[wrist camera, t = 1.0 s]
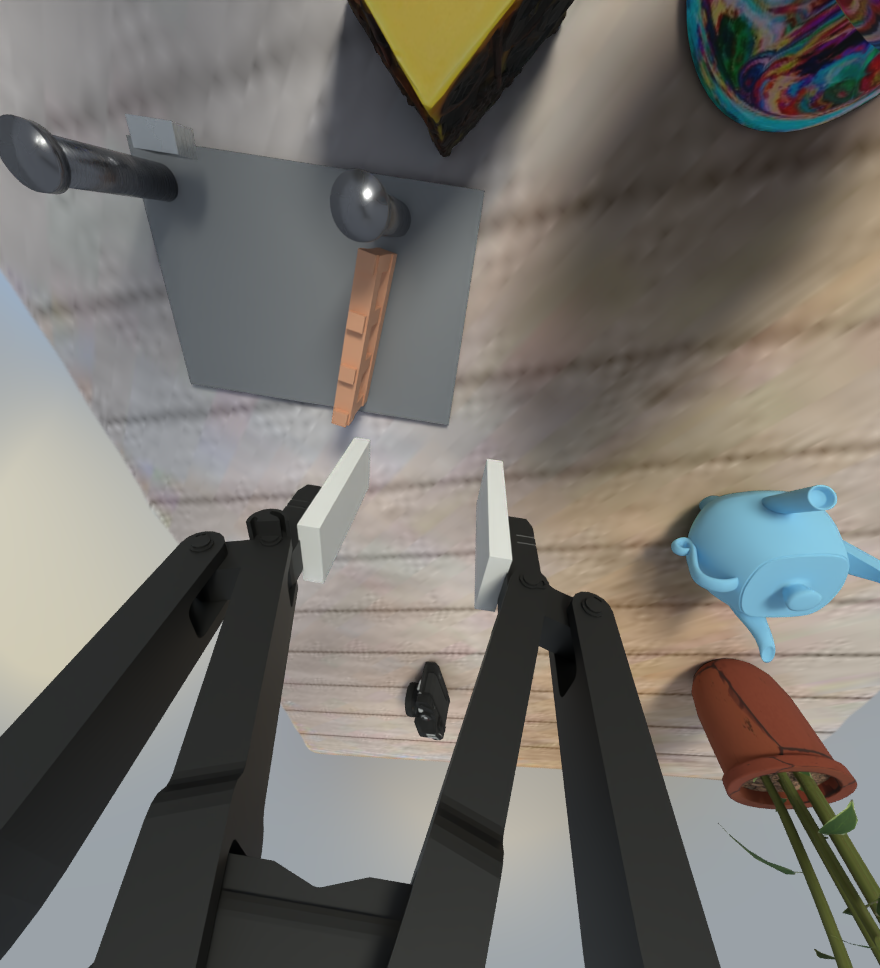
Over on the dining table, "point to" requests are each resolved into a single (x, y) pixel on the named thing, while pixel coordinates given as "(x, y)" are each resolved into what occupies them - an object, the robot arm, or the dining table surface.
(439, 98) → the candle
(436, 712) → the film camera
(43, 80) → the dining table surface
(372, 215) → the glossy grey waisted cylinder
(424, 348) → the mat
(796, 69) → the vase
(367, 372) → the gate
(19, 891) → the robot arm
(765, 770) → the potted plant
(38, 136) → the latch post
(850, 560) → the teapot
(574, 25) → the dining table surface
